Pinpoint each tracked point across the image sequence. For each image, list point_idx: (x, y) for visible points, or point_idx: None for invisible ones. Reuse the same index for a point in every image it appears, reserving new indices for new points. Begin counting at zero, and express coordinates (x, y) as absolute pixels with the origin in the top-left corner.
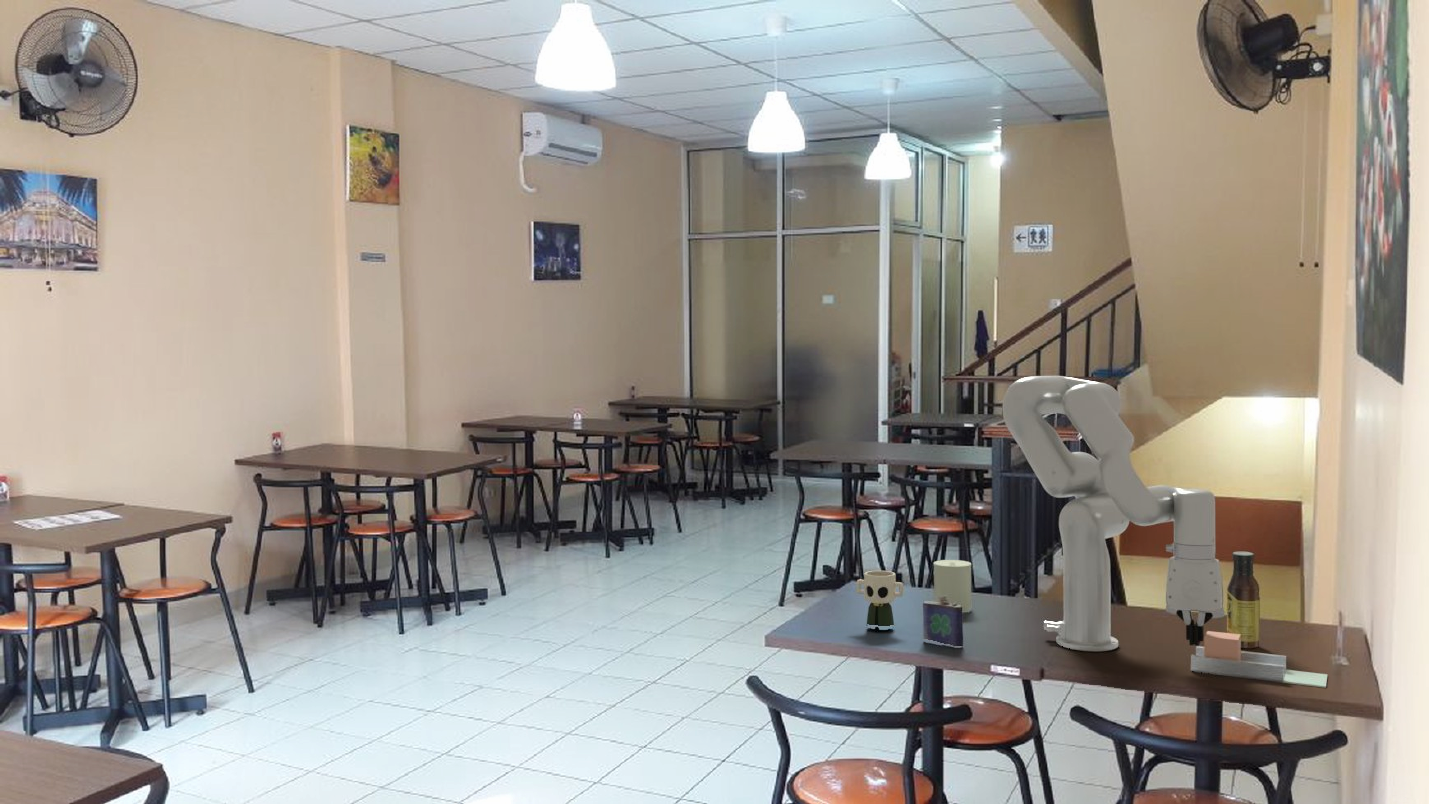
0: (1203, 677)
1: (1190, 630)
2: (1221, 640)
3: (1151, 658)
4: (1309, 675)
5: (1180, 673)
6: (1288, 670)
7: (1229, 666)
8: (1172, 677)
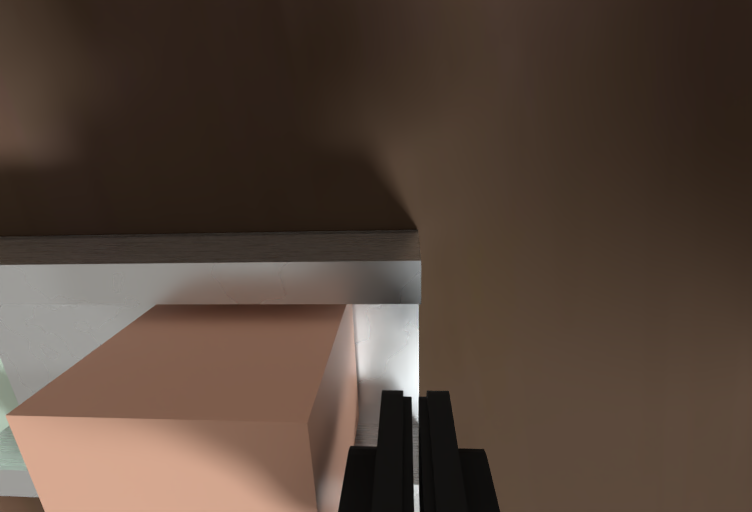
0: (330, 131)
1: (454, 497)
2: (160, 403)
3: (650, 397)
4: None
5: (469, 155)
6: None
7: (184, 249)
8: (510, 20)
